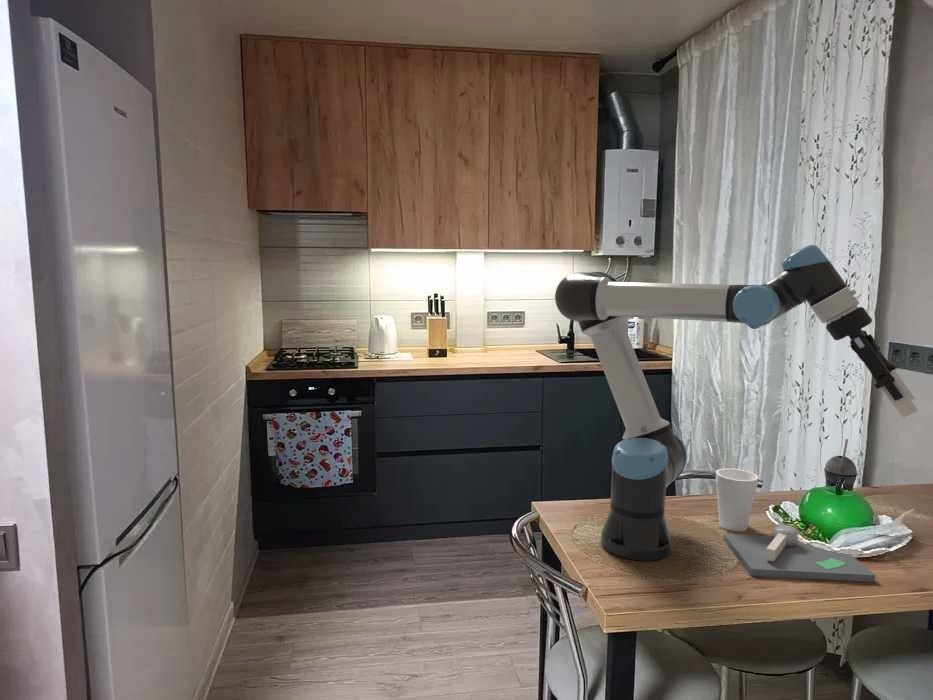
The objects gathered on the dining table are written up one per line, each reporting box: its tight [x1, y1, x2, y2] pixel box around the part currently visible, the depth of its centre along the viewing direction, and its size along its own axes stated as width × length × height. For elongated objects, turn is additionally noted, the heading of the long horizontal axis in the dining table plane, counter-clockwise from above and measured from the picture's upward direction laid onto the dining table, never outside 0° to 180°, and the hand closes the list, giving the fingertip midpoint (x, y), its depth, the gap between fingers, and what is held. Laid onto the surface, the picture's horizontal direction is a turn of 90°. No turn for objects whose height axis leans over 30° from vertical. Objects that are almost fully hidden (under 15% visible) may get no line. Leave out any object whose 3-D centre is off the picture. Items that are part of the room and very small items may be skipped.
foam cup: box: [715, 467, 759, 532], centre depth 150 cm, size 10×9×13 cm
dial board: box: [722, 533, 876, 583], centre depth 133 cm, size 24×17×2 cm
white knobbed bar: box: [766, 523, 799, 561], centre depth 134 cm, size 15×5×3 cm, turn 140°
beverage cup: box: [823, 438, 858, 492], centre depth 157 cm, size 7×7×20 cm
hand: (909, 407), depth 119 cm, fingers open, 13 cm apart
